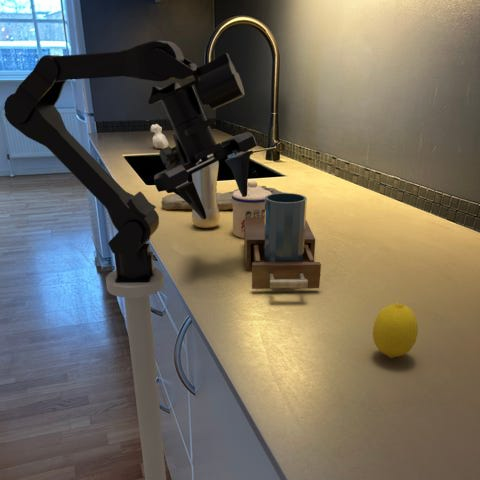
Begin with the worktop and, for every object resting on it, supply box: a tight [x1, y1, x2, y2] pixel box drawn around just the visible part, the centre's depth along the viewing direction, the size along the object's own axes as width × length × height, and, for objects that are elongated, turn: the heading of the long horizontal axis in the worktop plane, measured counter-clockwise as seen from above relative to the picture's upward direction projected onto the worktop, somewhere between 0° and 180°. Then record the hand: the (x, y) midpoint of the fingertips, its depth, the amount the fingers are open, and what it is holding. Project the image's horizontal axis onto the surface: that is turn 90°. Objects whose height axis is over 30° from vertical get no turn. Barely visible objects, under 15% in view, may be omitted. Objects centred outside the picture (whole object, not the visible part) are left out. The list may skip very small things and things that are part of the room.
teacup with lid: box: [232, 180, 272, 239], centre depth 114 cm, size 12×9×12 cm
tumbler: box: [264, 192, 308, 262], centre depth 88 cm, size 7×7×13 cm
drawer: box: [251, 243, 322, 290], centre depth 89 cm, size 18×11×4 cm, turn 1°
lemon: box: [372, 302, 419, 359], centre depth 66 cm, size 6×6×8 cm
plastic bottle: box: [191, 154, 221, 229], centre depth 116 cm, size 6×7×20 cm
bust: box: [150, 123, 169, 150], centre depth 224 cm, size 12×8×11 cm
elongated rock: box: [160, 184, 285, 211], centre depth 136 cm, size 35×5×10 cm
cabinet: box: [243, 217, 316, 272], centre depth 101 cm, size 15×13×6 cm
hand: (225, 207), depth 91 cm, fingers open, 9 cm apart
